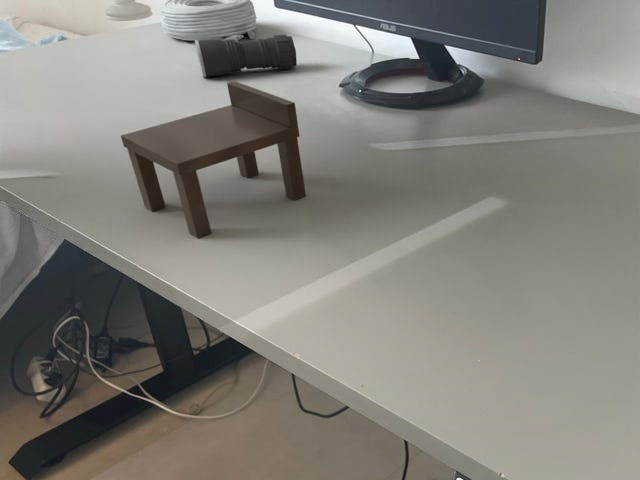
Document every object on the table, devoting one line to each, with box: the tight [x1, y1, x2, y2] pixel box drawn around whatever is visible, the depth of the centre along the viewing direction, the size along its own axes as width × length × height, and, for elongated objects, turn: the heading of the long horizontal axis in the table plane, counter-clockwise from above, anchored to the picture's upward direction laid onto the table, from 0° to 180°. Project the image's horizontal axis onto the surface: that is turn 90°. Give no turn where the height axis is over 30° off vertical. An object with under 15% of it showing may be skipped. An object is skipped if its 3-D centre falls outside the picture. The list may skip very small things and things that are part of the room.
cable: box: [160, 0, 257, 43], centre depth 136 cm, size 18×18×6 cm
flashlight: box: [194, 34, 298, 78], centre depth 116 cm, size 15×5×5 cm, turn 113°
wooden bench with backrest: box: [120, 80, 307, 239], centre depth 76 cm, size 14×11×10 cm
